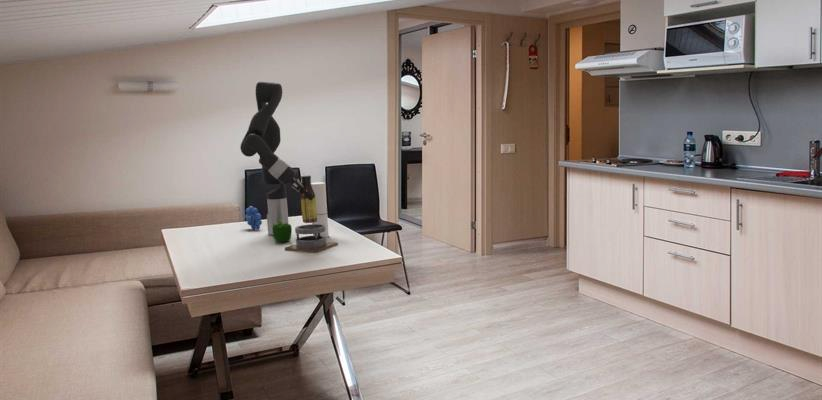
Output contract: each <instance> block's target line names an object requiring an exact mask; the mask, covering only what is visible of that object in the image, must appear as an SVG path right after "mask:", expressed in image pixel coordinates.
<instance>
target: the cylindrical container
mask: <svg viewBox="0 0 822 400" xmlns="http://www.w3.org/2000/svg"><path fill="white" fill-rule="evenodd" d="M311 186H312V189H313V191H314V194H315V200H316V210H317V222H314V223H311V224H322V225H325V228H326V230H325V232H322V233H320V236H325V237H326V238H328V237H329V236H330V234H329V223H328V222H329V221H328V219H329V218H328V207H327V206H328V205H327V204H328V203H327V190H326V187H327V186H326V182H321V181H317V182H311ZM314 235H315V234H312V236H314ZM317 235H318V233H317Z"/></svg>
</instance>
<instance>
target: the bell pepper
mask: <svg viewBox="0 0 822 400" xmlns="http://www.w3.org/2000/svg"><path fill="white" fill-rule="evenodd" d="M277 222H280V224H277V225H273V227H272V228H273V237H274V240H275V242H277V243H287V242H290V240H291V238H292V229H293V228H292V225H291V224H290V223H289V224H287V223H285V224H282V221H281V220H277Z"/></svg>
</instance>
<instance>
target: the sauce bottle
mask: <svg viewBox="0 0 822 400" xmlns="http://www.w3.org/2000/svg"><path fill="white" fill-rule="evenodd" d="M311 178H312V176H311V175H301V176H300V180H301V183H302V185H303V186H304V188H305V189H306V190H307V191H308V192H309V193H310V194H311V195H313V196H314V198H313V199H312V200H311V201H310V200H309V199H308V198H307V197H305V196H304V195H302V194H301V193H300V192H299V194H300V206H301V207H300V208H301V209H300V210H301V218H302V223H304V224H312V223H314V222H317V210H316V200H315V194H314V191H313V189H312V186H311V183H312V181H311V180H312V179H311ZM302 190H303V189H302ZM302 190H301V191H302Z"/></svg>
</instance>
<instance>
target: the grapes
mask: <svg viewBox="0 0 822 400" xmlns="http://www.w3.org/2000/svg"><path fill="white" fill-rule="evenodd" d="M245 213H246V214H245V215H244V216H245V217H244V218H245V219H246V223H247V225H248V226H250V228H251V229H252V230H260V228H261V225H262V220H261V218H262V215H261V214H260V213H259V209H257V208H256V207H254V206H252V205H249V206H248V207H247V208H246V209H245Z"/></svg>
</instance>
